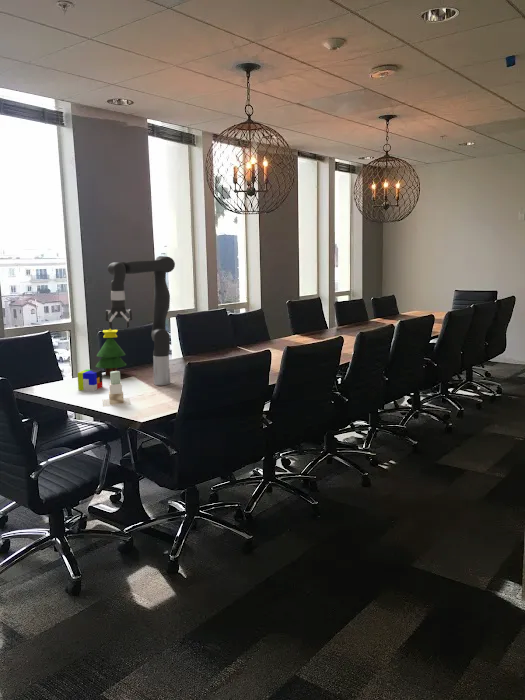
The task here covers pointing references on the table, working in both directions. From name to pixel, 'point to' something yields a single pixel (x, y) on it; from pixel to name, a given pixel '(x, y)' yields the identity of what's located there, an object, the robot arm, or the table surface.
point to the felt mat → (107, 403)
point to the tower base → (116, 398)
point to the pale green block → (115, 377)
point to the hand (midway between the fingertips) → (119, 328)
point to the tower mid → (115, 388)
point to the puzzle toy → (90, 380)
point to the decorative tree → (110, 353)
